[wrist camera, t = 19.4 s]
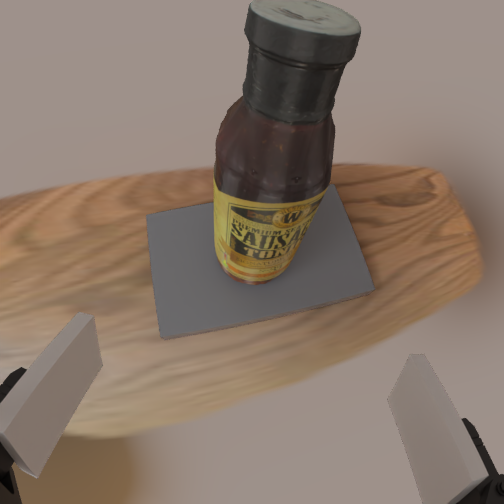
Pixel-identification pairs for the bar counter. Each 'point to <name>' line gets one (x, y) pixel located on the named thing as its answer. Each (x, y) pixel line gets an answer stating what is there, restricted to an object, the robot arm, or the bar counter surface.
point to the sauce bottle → (279, 135)
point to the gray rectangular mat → (240, 294)
